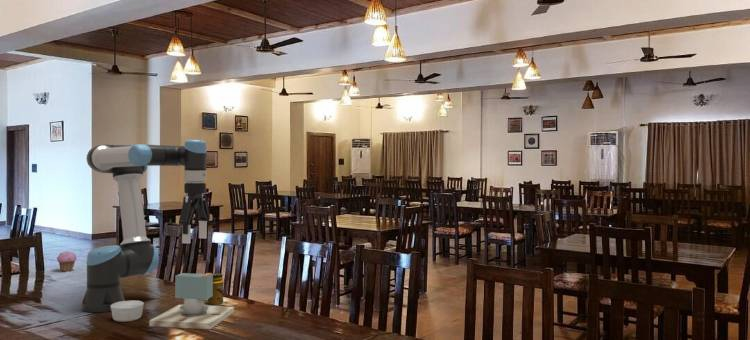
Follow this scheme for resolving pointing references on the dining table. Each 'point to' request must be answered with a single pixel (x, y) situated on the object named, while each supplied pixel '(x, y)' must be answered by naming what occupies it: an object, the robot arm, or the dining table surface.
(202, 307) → the teal block on base
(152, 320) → the post base
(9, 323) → the dining table surface
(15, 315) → the dining table surface
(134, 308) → the ramekin
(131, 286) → the dining table surface
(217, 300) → the condiment
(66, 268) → the cupcake
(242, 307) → the dining table surface
